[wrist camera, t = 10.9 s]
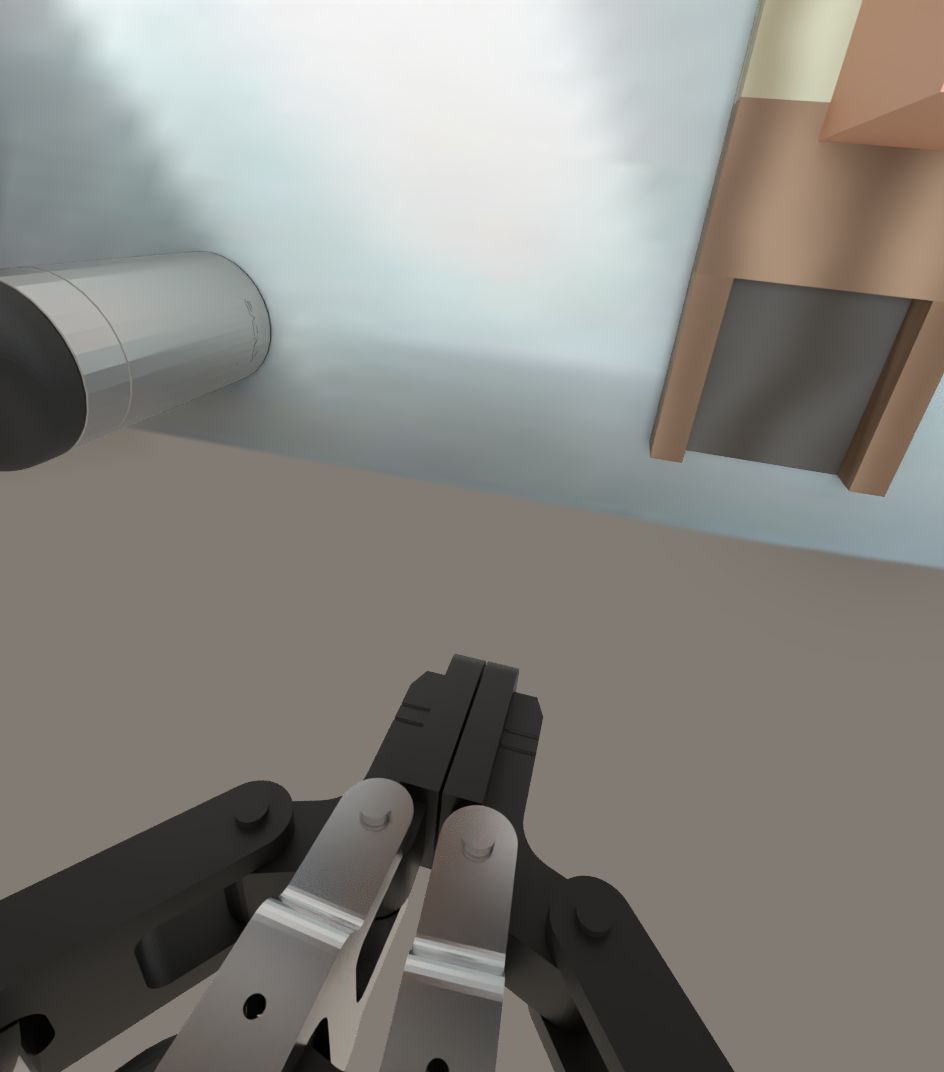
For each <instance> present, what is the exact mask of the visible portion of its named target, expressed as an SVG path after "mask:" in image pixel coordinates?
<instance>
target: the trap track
mask: <svg viewBox="0 0 944 1072" xmlns="http://www.w3.org/2000/svg"><path fill="white" fill-rule="evenodd" d="M862 1H863V0H759V4H758V8H757V12H756V16H755V20H754V24H753V28H752V32H751V36H750V40H749V44H748V48H747V52H746V56H745V60H744V64H743V68H742V72H741V76H740V80H739V84H738V88H737V92H736V97H735V101H734V105H733V109H732V113H731V117H730V121H729V125H728V129H727V133H726V137H725V141H724V145H723V149H722V153H721V157H720V161H719V165H718V169H717V173H716V177H715V181H714V185H713V189H712V193H711V197H710V201H709V205H708V209H707V213H706V217H705V221H704V225H703V229H702V233H701V237H700V241H699V245H698V249H697V254H696V258H695V262H694V266H693V270H692V274H691V278H690V282H689V286H688V290H687V294H686V298H685V302H684V306H683V310H682V314H681V318H680V322H679V326H678V330H677V334H676V338H675V342H674V346H673V350H672V354H671V358H670V362H669V366H668V370H667V374H666V378H665V382H664V386H663V390H662V394H661V398H660V402H659V406H658V411H657V415H656V419H655V423H654V427H653V431H652V435H651V439H650V458H656V459H662V460H668V461H674V462H680V463H682V460H683V457H684V453H685V450H689V451H695V452H701V453H707V454H713V455H719V456H725V457H731V458H737V459H743V460H749V461H755V462H762V463H768V464H774V465H780V466H786V467H792V468H798V469H804V470H810V471H816V472H822V473H828V474H834V475H838V477H839V478H840V479H841V481H842V482H843V483H844V485H845V486H846V488H847V489H848V490H849V491H852V492H858V493H864V494H870V495H876V496H882V497H885V494H886V492H887V490H888V488H889V486H890V484H891V482H892V480H893V478H894V476H895V474H896V472H897V469H898V467H899V465H900V463H901V461H902V459H903V457H904V455H905V453H906V451H907V449H908V446H909V444H910V442H911V440H912V438H913V436H914V434H915V432H916V430H917V428H918V426H919V424H920V421H921V419H922V417H923V415H924V413H925V411H926V409H927V407H928V405H929V403H930V401H931V399H932V396H933V394H934V392H935V390H936V388H937V386H938V384H939V382H940V380H941V378H942V376H943V373H944V151H942V150H930V149H917V148H904V147H891V146H878V145H865V144H852V143H839V142H826V141H818V140H819V137H820V134H821V131H822V128H823V124H824V121H825V118H826V115H827V112H828V108H829V105H830V102H831V99H832V96H833V93H834V89H835V86H836V83H837V80H838V77H839V74H840V70H841V67H842V64H843V61H844V58H845V55H846V51H847V48H848V45H849V42H850V39H851V36H852V32H853V29H854V26H855V23H856V20H857V17H858V13H859V10H860V7H861V4H862Z"/></svg>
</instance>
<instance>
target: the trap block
mask: <svg viewBox="0 0 944 1072" xmlns="http://www.w3.org/2000/svg"><path fill="white" fill-rule="evenodd" d="M818 141H826V142H839V143H852V144H865V145H878V146H891V147H904V148H917V149H930V150H942V151H944V0H863V1H862V4H861V7H860V10H859V13H858V17H857V20H856V23H855V26H854V29H853V32H852V36H851V39H850V42H849V45H848V48H847V51H846V55H845V58H844V61H843V64H842V67H841V70H840V74H839V77H838V80H837V83H836V86H835V89H834V93H833V96H832V99H831V102H830V105H829V108H828V112H827V115H826V118H825V121H824V124H823V128H822V131H821V134H820V137H819V140H818Z"/></svg>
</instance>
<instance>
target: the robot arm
mask: <svg viewBox="0 0 944 1072" xmlns="http://www.w3.org/2000/svg"><path fill="white" fill-rule="evenodd" d="M269 343H270V324H269V318H268V313H267V310H266V307H265V304H264V302H263V299H262V297H261V295H260V293H259V292H258V290H257V288H256V286H255V285H254V284H253V282H252V281H251V280H250V278H249V277H248V276H247V275H246V274H245V273H244V272H243V271H242V270H241V269H240V268H239V267H238V266H237V265H235V264H234V263H232V262H231V261H229V260H227V259H226V258H224V257H222V256H219V255H216V254H214V253H210V252H201V251H197V252H186V253H175V254H161V255H149V256H138V257H127V258H116V259H104V260H93V261H82V262H71V263H59V264H48V265H37V266H26V267H18V268H7V269H0V471H16V470H22V469H26V468H30V467H33V466H35V465H38V464H41V463H43V462H45V461H48V460H50V459H52V458H55V457H57V456H60V455H62V454H64V453H67V452H69V451H71V450H74V449H76V448H79V447H81V446H83V445H86V444H88V443H91V442H93V441H96V440H98V439H100V438H103V437H104V436H107V435H109V434H111V433H114V432H116V431H119V430H121V429H124V428H126V427H128V426H131V425H133V424H135V423H138V422H140V421H143V420H145V419H147V418H150V417H152V416H155V415H157V414H159V413H162V412H164V411H167V410H169V409H171V408H174V407H176V406H178V405H181V404H183V403H186V402H188V401H190V400H193V399H195V398H198V397H200V396H202V395H205V394H207V393H210V392H212V391H215V390H217V389H220V388H222V387H224V386H227V385H229V384H231V383H234V382H236V381H239V380H241V379H243V378H246V377H248V376H249V375H251V374H252V373H254V372H255V371H256V370H257V369H258V368H259V366H260V365H261V364H262V363H263V361H264V359H265V356H266V354H267V352H268V347H269ZM518 675H519V669H517V668H513V667H509V666H505V665H500V664H497V663H492V662H488V663H487V665H486V661H483V660H479V659H475V658H471V657H466V656H462V655H458V654H455V655H454V656H453V658H452V660H451V663H450V665H449V667H448V670H447V672H446V674H445V675H442V674H438V673H434V672H429V671H427V672H425V673H424V674H423V675H422V676H421V677H419V678H418V679H417V680H416V681H414V682H413V683H412V684H411V685H410V688H409V689H408V691H407V694H406V696H405V698H404V700H403V702H402V705H401V706H400V708H399V710H398V712H397V714H396V716H395V720H393V722H392V724H391V727H390V728H389V730H388V732H387V735H386V736H385V739H384V741H383V743H382V745H381V747H380V749H379V751H378V753H377V755H376V757H375V759H374V761H373V763H372V765H371V767H370V769H369V771H368V773H367V775H366V777H365V778H364V780H363V781H361V782H359V783H357V784H355V785H354V786H352V787H351V788H349V789H348V790H347V791H346V792H345V794H344V795H343V796H340V797H337V798H334V799H330V800H322V801H292V799H291V797H290V795H289V793H288V792H287V790H285V788H283V787H282V786H280V785H279V784H277V783H274V782H271V781H252V782H248V783H245V784H242V785H240V786H237V787H235V788H233V789H231V790H229V791H227V792H225V793H223V794H221V795H219V796H216V797H214V798H212V799H210V800H208V801H206V802H204V803H202V804H200V805H198V806H196V807H194V808H191V809H189V810H187V811H185V812H183V813H181V814H179V815H177V816H175V817H173V818H171V819H169V820H167V821H164V822H162V823H160V824H158V825H156V826H154V827H152V828H150V829H148V830H146V831H144V832H141V833H139V834H137V835H135V836H133V837H131V838H129V839H127V840H125V841H123V842H121V843H119V844H117V845H115V846H112V847H111V848H108V849H106V850H104V851H102V852H100V853H98V854H96V855H94V856H91V857H89V858H87V859H85V860H83V861H81V862H79V863H77V864H75V865H73V866H71V867H69V868H67V869H64V870H63V871H60V872H58V873H56V874H54V875H52V876H50V877H48V878H46V879H44V880H42V881H39V882H37V883H35V884H33V885H31V886H29V887H27V888H25V889H23V890H21V891H19V892H17V893H14V894H12V895H10V896H8V897H6V898H4V899H2V900H0V1072H61V1071H62V1070H64V1069H65V1068H67V1067H68V1066H70V1065H71V1064H73V1063H75V1062H76V1061H78V1060H79V1059H81V1058H83V1057H84V1056H86V1055H87V1054H89V1053H90V1052H92V1051H93V1050H95V1049H97V1048H98V1047H100V1046H101V1045H103V1044H104V1043H106V1042H107V1041H109V1040H111V1039H112V1038H114V1037H115V1036H117V1035H118V1034H120V1033H122V1032H123V1031H125V1030H126V1029H128V1028H129V1027H131V1026H132V1025H134V1024H136V1023H137V1022H139V1021H140V1020H142V1019H143V1018H145V1017H146V1016H148V1015H150V1014H151V1013H153V1012H154V1011H155V1010H157V1009H159V1008H160V1007H162V1006H164V1005H165V1004H167V1003H168V1002H170V1001H171V1000H173V999H175V998H176V997H178V996H179V995H181V994H182V993H184V992H185V991H187V990H188V989H190V988H192V987H193V986H195V985H196V984H198V983H199V982H201V981H202V980H204V979H206V978H207V977H209V976H210V975H212V974H213V973H215V972H217V971H218V972H217V973H216V975H215V976H214V978H213V979H212V981H211V983H210V984H209V986H208V987H207V989H206V991H205V992H204V994H203V995H202V997H201V998H200V1000H199V1002H198V1003H197V1005H196V1006H195V1008H194V1009H193V1011H192V1013H191V1014H190V1016H189V1017H188V1019H187V1020H186V1022H185V1024H184V1025H183V1027H182V1028H181V1030H180V1031H179V1033H178V1034H176V1035H174V1036H172V1037H169V1038H167V1039H165V1040H163V1041H161V1042H159V1043H157V1044H155V1045H154V1046H152V1047H150V1048H148V1049H146V1050H145V1051H143V1052H142V1053H140V1054H139V1055H137V1056H136V1057H134V1058H133V1059H132V1060H130V1061H129V1062H127V1063H126V1064H125V1065H123V1066H122V1067H120V1068H119V1069H118V1070H116V1071H115V1072H344V1071H345V1068H346V1065H347V1063H348V1060H349V1057H350V1055H351V1052H352V1049H353V1045H354V1042H355V1039H356V1035H357V1030H358V1026H359V1022H360V1019H361V1016H362V1013H363V1010H364V1007H365V1005H366V1002H367V1000H368V997H369V995H370V993H371V990H372V988H373V985H374V983H375V981H376V978H377V976H378V974H379V971H380V969H381V967H382V964H383V962H384V959H385V957H386V955H387V952H388V950H389V947H390V945H391V943H392V940H393V938H394V936H395V933H396V931H397V928H398V926H399V923H400V921H401V919H402V916H403V914H404V912H405V909H406V906H407V903H408V898H409V894H410V892H411V889H412V886H413V883H414V881H415V878H416V875H417V872H418V869H419V866H422V867H426V868H429V869H432V870H431V874H430V878H429V882H428V886H427V891H426V895H425V899H424V903H423V908H422V912H421V916H420V920H419V924H418V928H417V933H416V937H415V941H414V944H413V947H412V949H411V950H410V952H409V954H408V958H407V961H406V964H405V968H404V972H403V976H402V980H401V984H400V988H399V993H398V997H397V1001H396V1005H395V1009H394V1013H393V1017H392V1021H391V1025H390V1030H389V1034H388V1038H387V1042H386V1046H385V1050H384V1054H383V1058H382V1062H381V1067H380V1071H379V1072H495V1069H496V1059H497V1050H498V1041H499V1031H500V1022H501V1013H502V1004H503V994H504V986H506V987H507V988H508V989H509V990H511V991H512V992H513V993H514V994H516V995H517V996H518V997H519V998H521V999H522V1000H523V1001H524V1002H526V1003H527V1004H528V1009H529V1012H530V1015H531V1018H532V1020H533V1023H534V1025H535V1027H536V1030H537V1032H538V1034H539V1036H540V1039H541V1041H542V1043H543V1046H544V1048H545V1050H546V1052H547V1055H548V1057H549V1060H550V1062H551V1064H552V1067H553V1069H554V1071H555V1072H734V1071H733V1069H732V1067H731V1066H730V1064H729V1062H728V1061H727V1059H726V1058H725V1056H724V1055H723V1053H722V1051H721V1050H720V1048H719V1047H718V1045H717V1043H716V1042H715V1040H714V1039H713V1037H712V1036H711V1034H710V1032H709V1031H708V1029H707V1028H706V1026H705V1024H704V1023H703V1021H702V1020H701V1018H700V1016H699V1015H698V1013H697V1012H696V1010H695V1009H694V1007H693V1005H692V1004H691V1002H690V1001H689V999H688V997H687V996H686V994H685V993H684V991H683V989H682V988H681V986H680V985H679V983H678V982H677V980H676V979H675V977H674V975H673V974H672V972H671V970H670V969H669V967H668V966H667V964H666V963H665V961H664V959H663V958H662V956H661V955H660V953H659V951H658V950H657V948H656V947H655V945H654V943H653V942H652V940H651V939H650V937H649V936H648V934H647V932H646V931H645V929H644V928H643V926H642V924H641V923H640V921H639V920H638V918H637V917H636V915H635V914H634V912H633V910H632V909H631V907H630V906H629V904H628V902H627V901H626V900H625V898H624V897H623V895H621V893H620V892H619V891H618V890H617V889H615V888H614V887H613V886H611V885H610V884H608V883H607V882H605V881H603V880H601V879H598V878H595V877H591V876H576V877H573V878H570V879H566V878H565V877H563V876H562V875H560V874H559V873H557V872H556V871H554V870H553V869H551V868H550V867H548V866H547V865H546V864H544V863H543V862H542V861H541V860H540V859H539V858H538V857H537V856H536V855H535V854H534V852H533V851H532V850H531V848H530V846H529V844H528V842H527V840H526V838H525V834H524V830H523V819H524V812H525V807H526V801H527V797H528V791H529V787H530V782H531V776H532V771H533V766H534V761H535V756H536V751H537V746H538V741H539V735H540V730H541V725H542V720H543V715H542V712H541V709H540V705H539V702H538V699H537V697H532V696H529V695H525V694H520V693H516V687H517V681H518Z"/></svg>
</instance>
